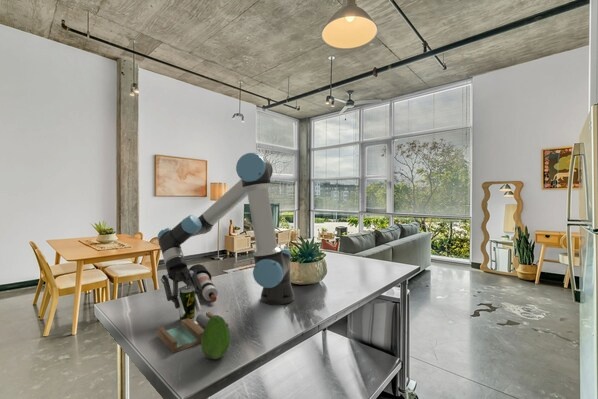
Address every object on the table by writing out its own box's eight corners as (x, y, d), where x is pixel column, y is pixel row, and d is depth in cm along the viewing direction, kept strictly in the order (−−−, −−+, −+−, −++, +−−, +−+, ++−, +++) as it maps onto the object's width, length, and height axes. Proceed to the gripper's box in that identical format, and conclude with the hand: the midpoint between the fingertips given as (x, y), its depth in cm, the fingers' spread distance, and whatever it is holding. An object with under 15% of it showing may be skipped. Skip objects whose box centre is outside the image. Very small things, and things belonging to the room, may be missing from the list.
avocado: (217, 368, 74) (217, 323, 74) (195, 361, 77) (195, 318, 77) (235, 353, 81) (235, 312, 81) (214, 347, 84) (214, 308, 84)
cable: (208, 315, 118) (198, 297, 115) (192, 286, 147) (183, 271, 143) (229, 301, 123) (219, 283, 119) (209, 275, 151) (201, 260, 148)
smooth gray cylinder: (195, 324, 97) (196, 315, 97) (204, 321, 100) (204, 312, 100) (207, 333, 91) (207, 323, 91) (216, 329, 93) (216, 320, 93)
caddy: (209, 319, 103) (209, 311, 103) (227, 332, 93) (227, 323, 93) (157, 336, 91) (157, 327, 91) (172, 353, 81) (173, 342, 81)
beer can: (176, 321, 102) (176, 288, 103) (187, 315, 107) (187, 284, 108) (187, 323, 100) (187, 290, 101) (197, 317, 105) (198, 286, 106)
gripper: (194, 263, 121) (211, 311, 110) (148, 270, 109) (162, 325, 97) (199, 252, 118) (217, 301, 106) (152, 259, 105) (167, 315, 93)
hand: (191, 312), depth 101 cm, fingers closed on beer can, 5 cm apart
